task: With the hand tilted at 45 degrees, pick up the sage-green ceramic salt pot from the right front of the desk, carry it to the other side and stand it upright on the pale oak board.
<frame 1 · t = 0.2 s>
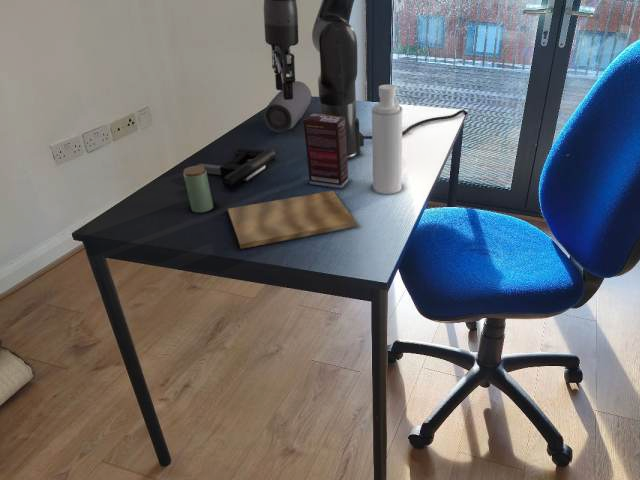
hand: (284, 94, 135), 17 cm above the table, tool pointing down, fingers open, 8 cm apart
supplement box: (329, 183, 134), on the table
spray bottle: (387, 188, 132), on the table
bluetooth speaker: (290, 124, 168), on the table
salt pot: (202, 207, 124), on the table
door handle: (233, 171, 140), on the table
oak board: (290, 220, 119), on the table
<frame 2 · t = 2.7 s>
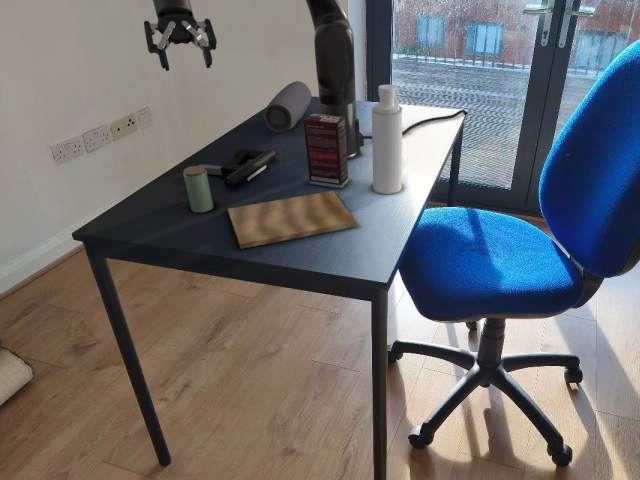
hand: (188, 67, 119), 27 cm above the table, tool tilted 40°, fingers open, 8 cm apart
nothing on the table moved.
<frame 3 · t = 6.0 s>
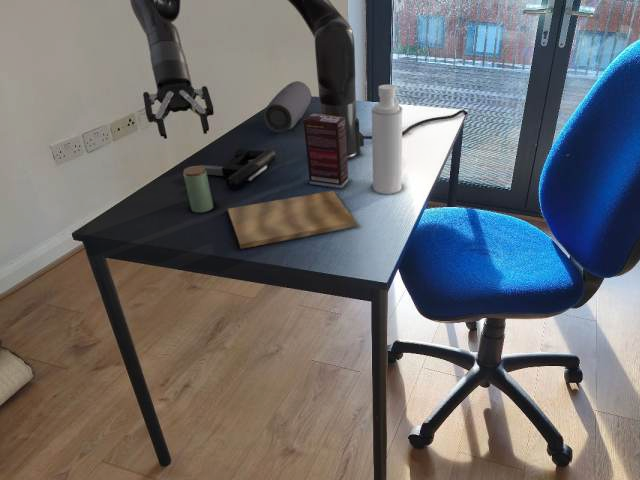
hand: (185, 134, 123), 14 cm above the table, tool tilted 45°, fingers open, 8 cm apart
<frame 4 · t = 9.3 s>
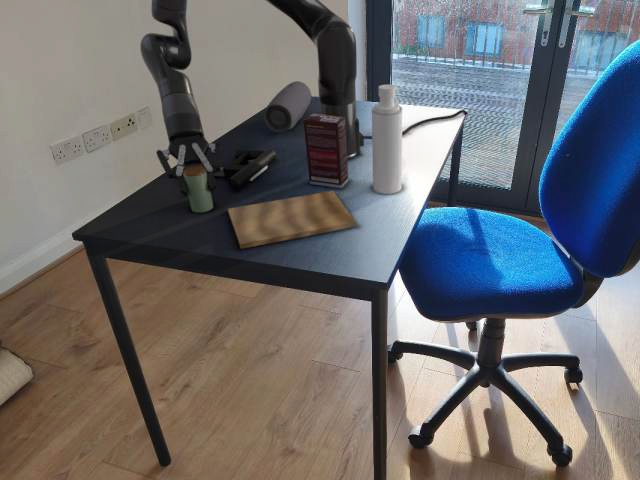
hand: (199, 191, 120), 5 cm above the table, tool tilted 45°, fingers closed on salt pot, 4 cm apart
salt pot: (202, 207, 124), on the table, touching gripper
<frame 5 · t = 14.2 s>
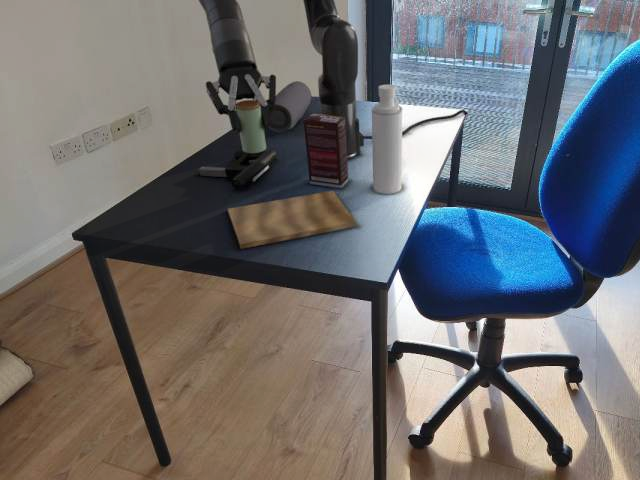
hand: (252, 129, 108), 20 cm above the table, tool tilted 45°, fingers closed on salt pot, 5 cm apart
salt pot: (254, 148, 112), point 15 cm above the table, touching gripper
when the fingers open (6 cm above the table, at t = 19.4 s): salt pot stays where it is, resting on oak board.
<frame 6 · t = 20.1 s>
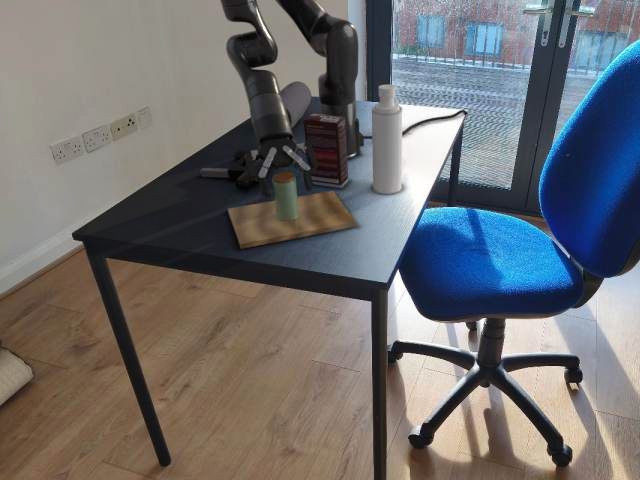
hand: (289, 193, 114), 7 cm above the table, tool tilted 45°, fingers open, 8 cm apart
salt pot: (288, 215, 118), point 1 cm above the table, touching oak board
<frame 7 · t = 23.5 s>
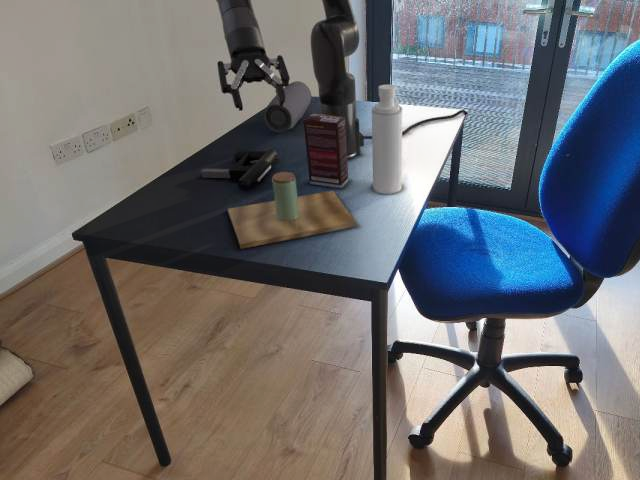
hand: (261, 106, 116), 21 cm above the table, tool tilted 45°, fingers open, 8 cm apart
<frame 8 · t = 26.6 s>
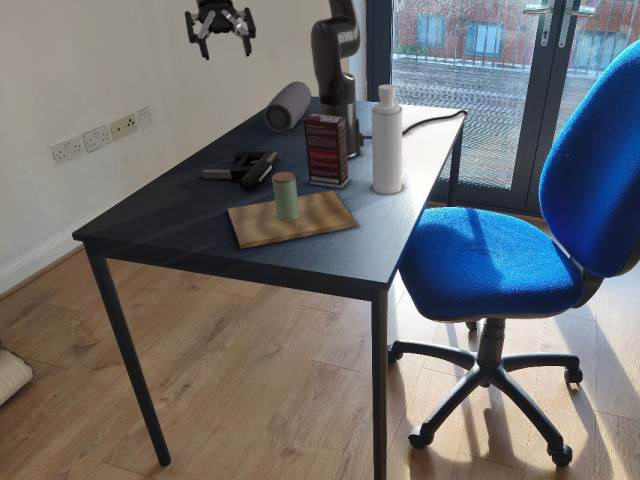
hand: (228, 56, 119), 29 cm above the table, tool tilted 45°, fingers open, 8 cm apart
at the end: salt pot inside the target area on the oak board (0.5 cm from its centre), point 1.2 cm above the oak board's base; salt pot tilted 0°; the gripper is holding nothing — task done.
